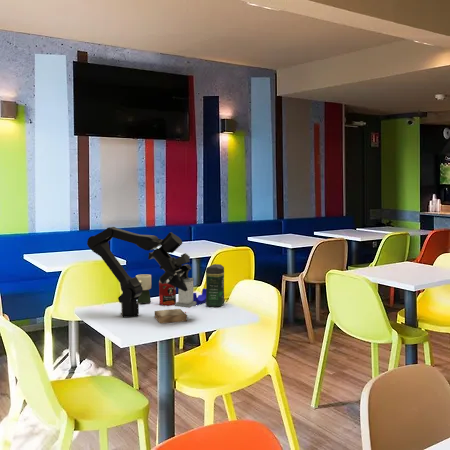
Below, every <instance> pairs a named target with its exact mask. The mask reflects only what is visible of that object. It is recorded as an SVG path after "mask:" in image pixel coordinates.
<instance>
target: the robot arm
mask: <svg viewBox="0 0 450 450" xmlns="http://www.w3.org/2000/svg"><path fill="white" fill-rule="evenodd" d="M113 238H114V239H118V240H120V241H123V242H126V243H127V242H128V243H132V244H134V245H136V246H137V247H138V248H141V249H142V250H144V251H152V252H148V258H147V259H148V260H153V259H154V260H155V261H156V262H157V263H158V265H159V269H160V270H163V271H164V272H163V274H162V275H160V277H159V280H160V282H161V283H162V284H165V283H166V281H167V280H168V279H169V282H168V283H167V284H170V285H172V286H175V287H176V289H178V290H179V289H181V290H183V291H187V288H186V287H185V285H184V284H183V282H182V281H181V279H180V278H183V277H187V278H189V272H190V271H191V270H192V269H193V267H192V266H191V265H190V264H188V263H190V258H191V257H190V256H189V254H187V253H182V254H181V255H180V256H179V257H177V258H176V257H175V256H173V257H172V256H171V255H170V253H171V254H173V253H175V252H176V251H177V250H178V249H179V248H180V247H181V246H182V244H183V240H182V238H180V237H179V236H178V235H177V234H174V233H173V232H172V231H171V232H168V233H167V235H166V236H165V237H164V238H162V239H161V238H158V236H156V235H151V234H139V233H135V232H131V231H129V230H125V229H121V228H117V227H115V226H110V227H107V228H105V229H103V231H101V232H98V233H97V234H95V235H92V236H89V237H88V238H87V241H86V242H87V243H86V245H87V247H88V248H89V249H90V250H91V251H92V252H93V253H95V254H96V255H98V256H99V257H100V258H101V259H102V261H103V262H104V263H105V264H106V266H107V267H108V269H109V270H110V271H111V274H113V276H114V277H115V278H116V280H117V281H118V283H119V286H120V290H121V292H122V293H121V294H120V295H119V296H118V297H117V299H118V302H119V303H120V306H121V309H120V310H121V312H120V315H121V317H122V318H133V317H139V313H140V312H139V303H138V302H137V299H139V296H140V295H141V294H142V290H143V288H142V286H141V285H142V284H141V283H140V282H139V281H138V279H137V278H136V276H135V277H131V276H130V275H129V274H128V272H127V271H126V270H125V268H124V267H123V265H122V264H121V263H120V261H119V260H118V259H117V257H116V256H115V255H114V254H113V252H112V251H111V249H110V243H109V242H110V241H112V240H113Z"/></svg>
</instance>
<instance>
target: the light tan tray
mask: <svg viewBox="0 0 450 450" xmlns="http://www.w3.org/2000/svg"><path fill="white" fill-rule="evenodd" d="M154 318H155V320H157V322H158V323H159V324H167V323H168V324H169V323H178V322H179V323H180V322H187V320H188V315H187V314H186V313H185V312H184V311H183V310H182V309H181V308H172V309H161V310H154Z"/></svg>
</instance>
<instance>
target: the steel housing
mask: <svg viewBox="0 0 450 450" xmlns="http://www.w3.org/2000/svg"><path fill="white" fill-rule="evenodd" d="M180 279H181V281H182V282H183V284H184V285H185V287H186V288H187V291H183V290H181V289H179V288H178V292H177V293H178V298H177V299H178V300H177V301H176V303H175V305H174V307H177V308H179V307H180V308H185V309H186V308H188V309H190V308H192V307H195V306H194V305H196V302H195V301H193V293H194V279H195V278H194V277H188V278H187V277H183V278H180Z"/></svg>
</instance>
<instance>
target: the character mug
mask: <svg viewBox="0 0 450 450" xmlns="http://www.w3.org/2000/svg"><path fill="white" fill-rule="evenodd" d="M135 277H136V278H137V279H138V281H139V282H140V283H141V284H142V285H141V286H142V288H143V290H142V294H141V295H140V296H139V299H137V303H138V304H140V303H143V304H144V303H145V304H146V303H148V304H149V303H151V302H152V301H151V299H152V298H151V294H150V290H151V289H152V274H141V273H140V274H137V275H135Z"/></svg>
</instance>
